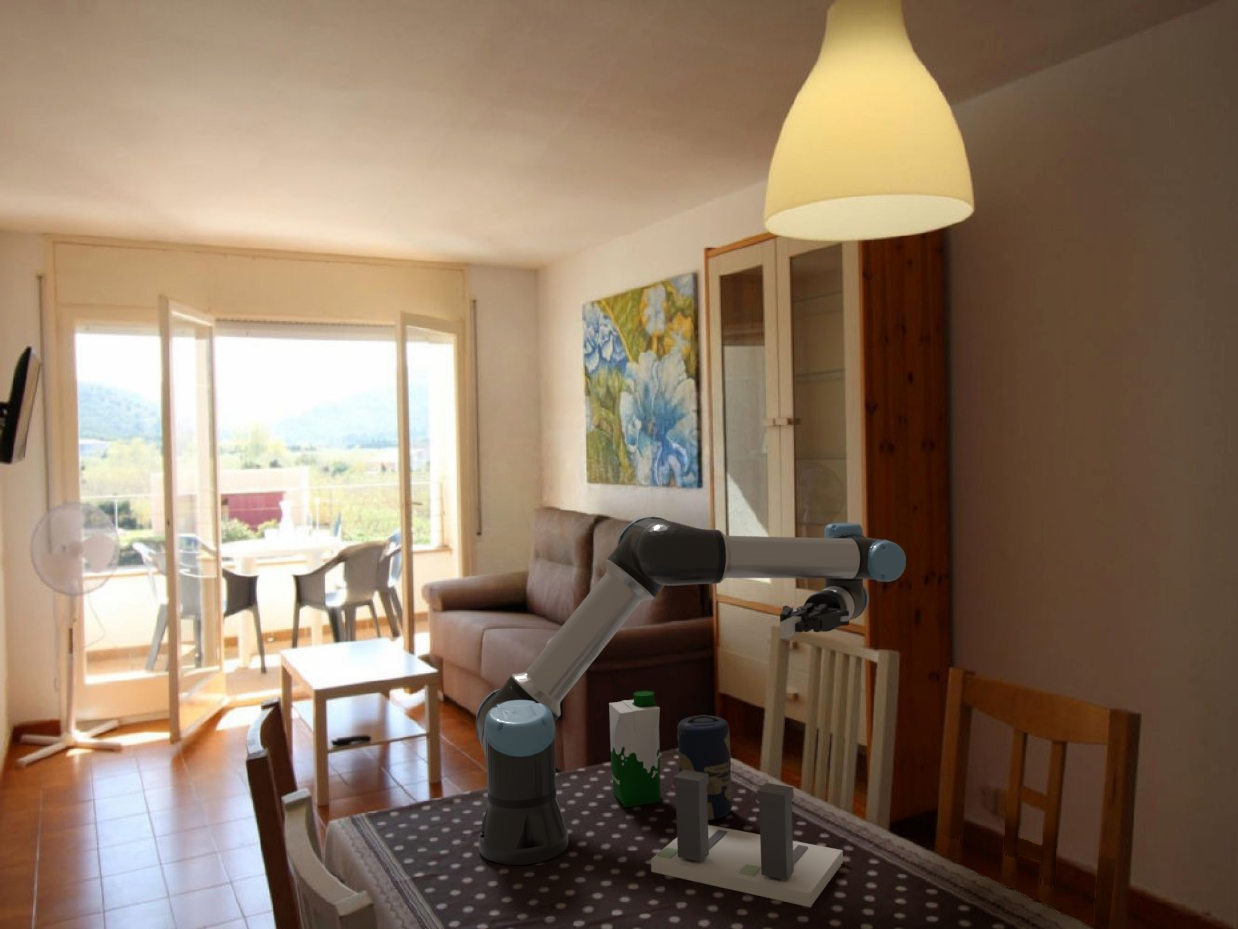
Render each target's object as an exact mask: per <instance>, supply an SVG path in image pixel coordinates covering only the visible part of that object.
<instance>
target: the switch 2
mask: <svg viewBox="0 0 1238 929" xmlns="http://www.w3.org/2000/svg"><path fill="white" fill-rule="evenodd" d="M793 799H794V787H793V786H787V785H781V784H776V783H769V782H765V783H764V784H762V785H761V786H760V787H759V788H758V789H757V790H756V802H758V803H759V804H758V807H759V835H760V844H761V875H764V876H769V877H774V878H779V879H783V880H788V878H789V877H790V876H791V875H792V873H793V872H794V862H793V841H794V837H793V836H794V835H793V803H792V800H793Z"/></svg>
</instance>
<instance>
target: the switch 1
mask: <svg viewBox="0 0 1238 929" xmlns="http://www.w3.org/2000/svg"><path fill="white" fill-rule="evenodd" d="M672 779H673V788H675V807H676V809H675V812H676V813H675V814H676V838H677V846H678V857H680V858H685V859H689V860H694V861H699V862H701V861H702V860H704V859H705V858H706V857H707V856H708V855H709V838H708V825H709V820H708V807H707V785H708V784H709V777H708V773H701V772H695V771H689V770H682V771H681V772H679V771H678V773H677V774H675V775H674V776H673V777H672Z"/></svg>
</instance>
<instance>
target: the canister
mask: <svg viewBox="0 0 1238 929" xmlns="http://www.w3.org/2000/svg"><path fill="white" fill-rule="evenodd" d="M730 735H731V734H730V726H729V723H728V722H727V720H725V719H724V718H722V717H719V716H715V715H709V714H708V715H705V714H702V715H700V714H699V715H693V716H689V717H686V718H683V719H681V720H680V721H679V722H678V723H677V750H678V751H677V752H678V754H677V755H678V773H679V772H681V771H682V770H689V771H695V772H701V773H708V777H709V784H708V785H707V807H708V821H711V820H717V819H721V818H723V817H725V816H728V814H730V812H731V811H732V807H733V795H732V794H733V792H732V771H731V767H732V762H731V760H732V759H731V741H730V740H731V738H730Z"/></svg>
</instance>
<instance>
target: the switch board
mask: <svg viewBox="0 0 1238 929" xmlns="http://www.w3.org/2000/svg"><path fill="white" fill-rule="evenodd" d="M708 838H709V855H708V856H707V857H706V858H705V859H704V860H702V861H701V862H699V861H694V860H689V859H685V858H680V857H678V846H677V837H676V838H675V839H673V840H671V841H670V843H668V844H667V845H666V846H665V847H664V848H662V849H661V850H660V851H659V852H657V853H656V854H655V855H654V856H653V857H651V859H650V865H651V866H650V867H651V871H650V872H651V873H655V874H660V875H664V876H670V877H674V878H679V879H683V880H687V881H692V882H696V883H701V884H705V885H710V886H715V887H718V888H723V889H727V890H731V891H732V890H733V891H737V892H741V893H746V894H750V895H755V896H760V897H764V898H769V899H771V900H772V899H773V900H777V901H781V902H786V903H789V904H790V903H791V904H793V905H794V904H795V905H799V906H804V907H808V908H811V907H812V906H813V905H814V903H815V901H816V900H817V899H818V898H819V896H820V895H821V893H822V892H823V890H824V889H825V888H826V887H827V885H828V884H829V882H830V881H831V880H832V879H833V877H834V875H835V874H836V873H837V871H839V869H840V867H841V866H842V865H843V863H844V858H843V857H844V856H843V854H844V852H843V851H844V850H842V849H837V848H833V847H827V846H823V845H816V844H812V843H811V844H810V843H806V842H802V841H801V842H800V841H797V840H796V841H795V840H793V862H794V872H793V873H792V875H791V876H790V877H789V878H788V880H783V879H779V878H774V877H769V876H764V875H761V844H760V833H758V834H757V833H754V832H747V831H742V830H738V829H732V828H726V827H722V826H716V825H710V824H708ZM841 864H842V865H841Z"/></svg>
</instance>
